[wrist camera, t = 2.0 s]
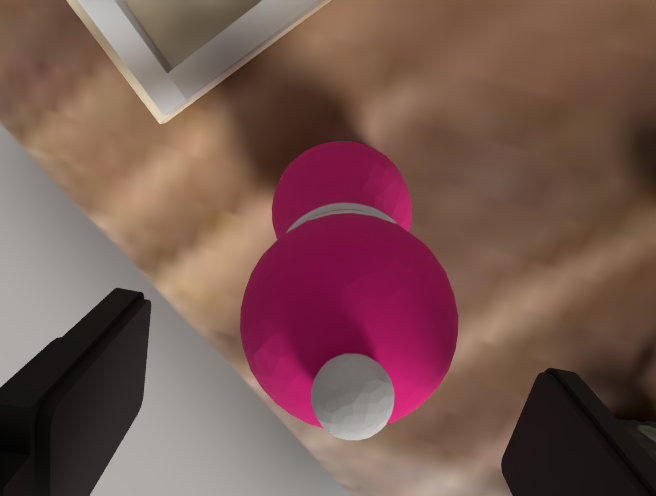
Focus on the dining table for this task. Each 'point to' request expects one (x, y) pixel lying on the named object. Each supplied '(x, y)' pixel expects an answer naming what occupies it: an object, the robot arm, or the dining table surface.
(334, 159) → the pepper mill
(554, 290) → the dining table surface
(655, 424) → the artificial flower
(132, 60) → the rail board
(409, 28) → the dining table surface
